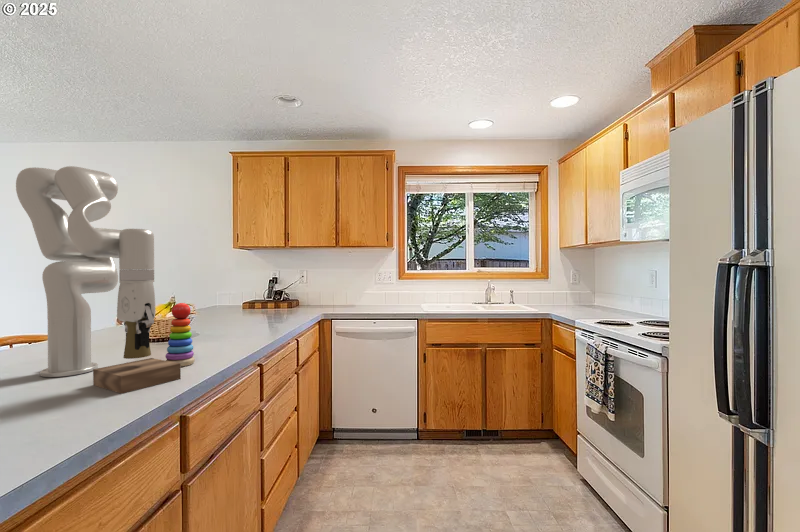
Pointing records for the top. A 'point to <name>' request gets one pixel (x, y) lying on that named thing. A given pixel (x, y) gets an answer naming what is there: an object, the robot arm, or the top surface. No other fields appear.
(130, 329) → the cork
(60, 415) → the top surface
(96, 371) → the walnut base brick
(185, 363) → the stacking toy
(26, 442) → the top surface
